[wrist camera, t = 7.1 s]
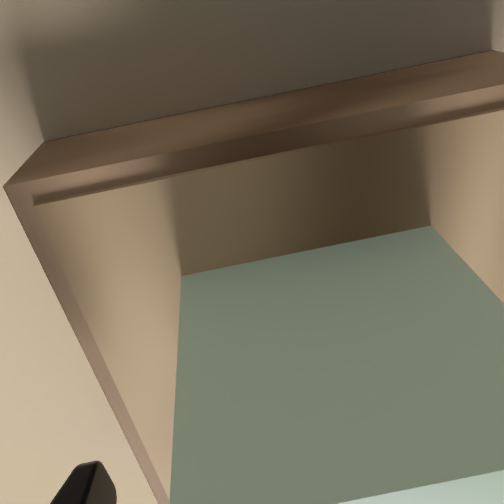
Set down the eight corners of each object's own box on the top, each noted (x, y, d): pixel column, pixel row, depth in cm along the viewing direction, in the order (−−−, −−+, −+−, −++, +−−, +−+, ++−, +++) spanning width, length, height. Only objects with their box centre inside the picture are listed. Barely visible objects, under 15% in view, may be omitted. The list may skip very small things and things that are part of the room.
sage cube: (430, 225, 9) (634, 443, 5) (426, 398, 12) (556, 639, 8) (181, 275, 9) (168, 536, 5) (230, 437, 12) (250, 701, 8)
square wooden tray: (493, 50, 10) (577, 71, 8) (464, 374, 15) (510, 443, 13) (43, 142, 10) (-1, 190, 8) (165, 434, 15) (160, 513, 13)
